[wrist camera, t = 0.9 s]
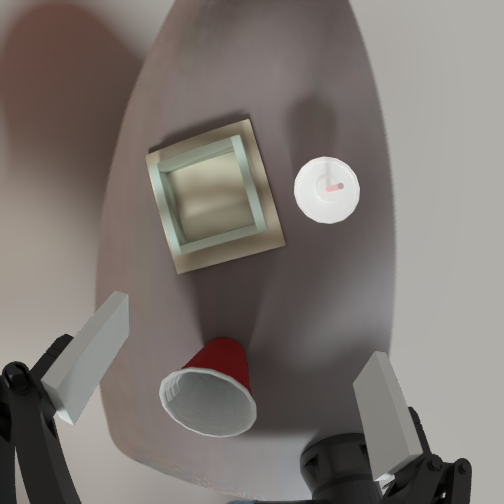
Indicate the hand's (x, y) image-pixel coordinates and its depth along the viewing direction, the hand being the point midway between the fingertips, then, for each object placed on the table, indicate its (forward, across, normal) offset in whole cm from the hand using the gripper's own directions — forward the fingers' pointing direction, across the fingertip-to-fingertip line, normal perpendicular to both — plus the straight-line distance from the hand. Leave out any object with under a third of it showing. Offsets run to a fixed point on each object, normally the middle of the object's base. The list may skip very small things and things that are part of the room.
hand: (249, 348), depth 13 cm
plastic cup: (+18, +1, +19) cm, 26 cm away
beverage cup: (+23, -5, -5) cm, 24 cm away
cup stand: (+23, +7, -1) cm, 24 cm away
